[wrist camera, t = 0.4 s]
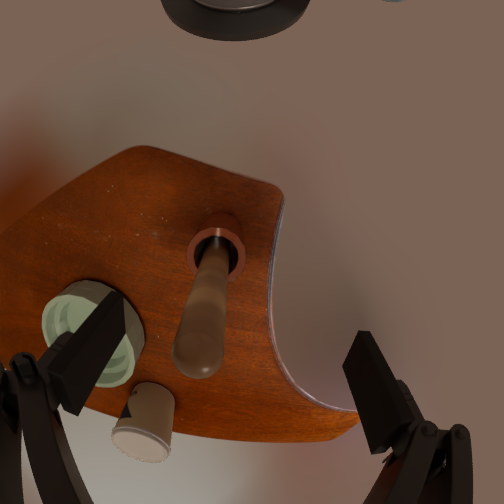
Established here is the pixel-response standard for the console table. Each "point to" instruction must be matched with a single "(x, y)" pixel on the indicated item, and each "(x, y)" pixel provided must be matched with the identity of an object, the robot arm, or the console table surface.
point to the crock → (219, 227)
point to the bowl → (75, 313)
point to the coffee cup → (146, 424)
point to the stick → (204, 315)
